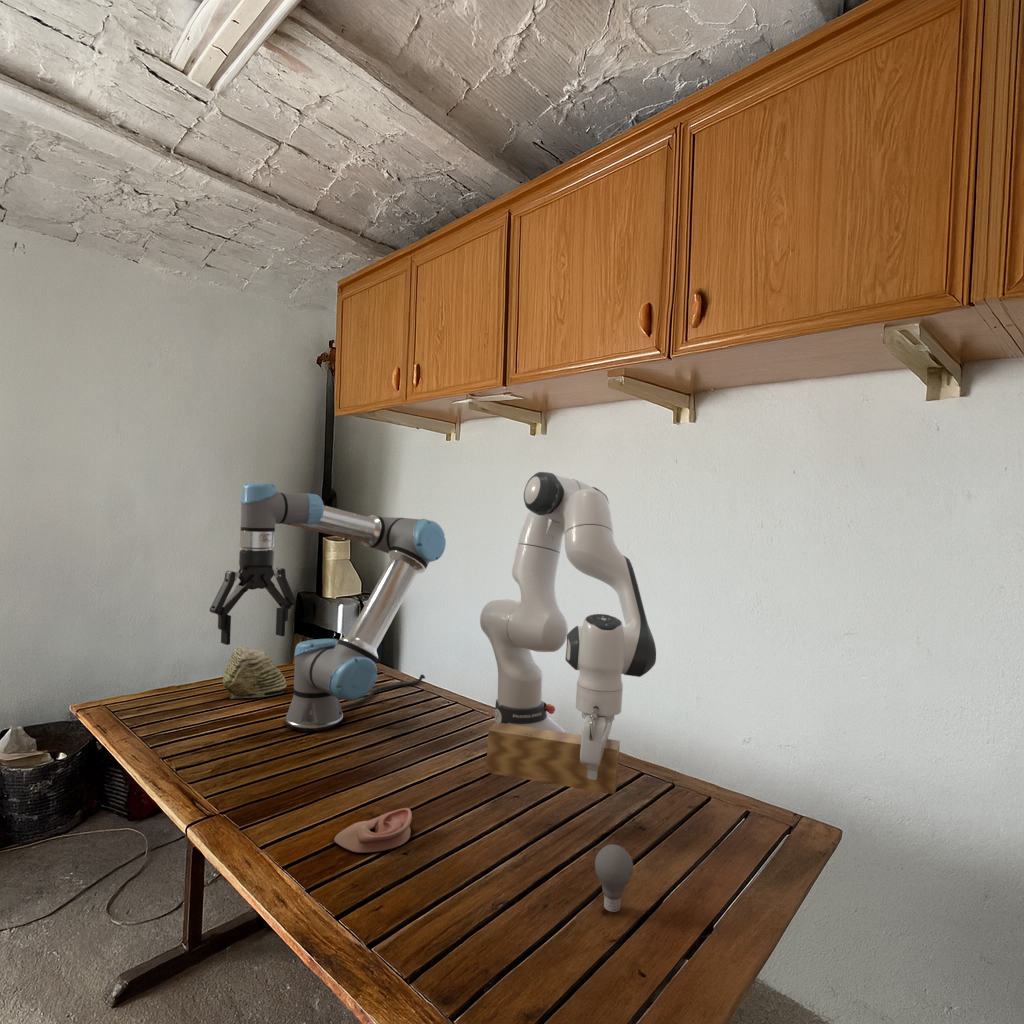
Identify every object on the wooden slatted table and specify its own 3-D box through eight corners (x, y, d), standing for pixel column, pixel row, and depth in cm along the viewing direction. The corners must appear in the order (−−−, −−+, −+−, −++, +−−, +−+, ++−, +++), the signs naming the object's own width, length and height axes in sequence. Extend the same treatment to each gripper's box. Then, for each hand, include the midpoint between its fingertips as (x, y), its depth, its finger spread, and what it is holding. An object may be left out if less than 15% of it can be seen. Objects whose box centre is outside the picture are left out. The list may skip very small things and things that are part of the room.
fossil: (218, 695, 195) (220, 647, 195) (278, 685, 208) (279, 640, 207) (228, 703, 189) (230, 653, 188) (289, 692, 201) (290, 645, 201)
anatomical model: (326, 826, 114) (355, 797, 125) (325, 847, 114) (354, 817, 126) (396, 837, 112) (418, 806, 123) (395, 859, 112) (417, 827, 123)
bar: (485, 772, 125) (488, 730, 125) (493, 762, 130) (495, 722, 130) (614, 794, 119) (617, 750, 119) (617, 783, 124) (619, 740, 124)
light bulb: (589, 897, 103) (592, 837, 103) (625, 897, 104) (628, 837, 104) (597, 922, 97) (600, 857, 97) (635, 921, 98) (638, 857, 98)
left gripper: (211, 552, 136) (208, 650, 136) (312, 548, 155) (309, 634, 156) (195, 549, 141) (192, 644, 141) (295, 546, 160) (292, 629, 161)
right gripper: (609, 719, 112) (605, 797, 112) (619, 688, 132) (615, 755, 132) (574, 714, 113) (569, 791, 113) (589, 685, 133) (585, 750, 133)
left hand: (253, 639), depth 148 cm, fingers open, 13 cm apart
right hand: (594, 771), depth 123 cm, fingers closed on bar, 5 cm apart
